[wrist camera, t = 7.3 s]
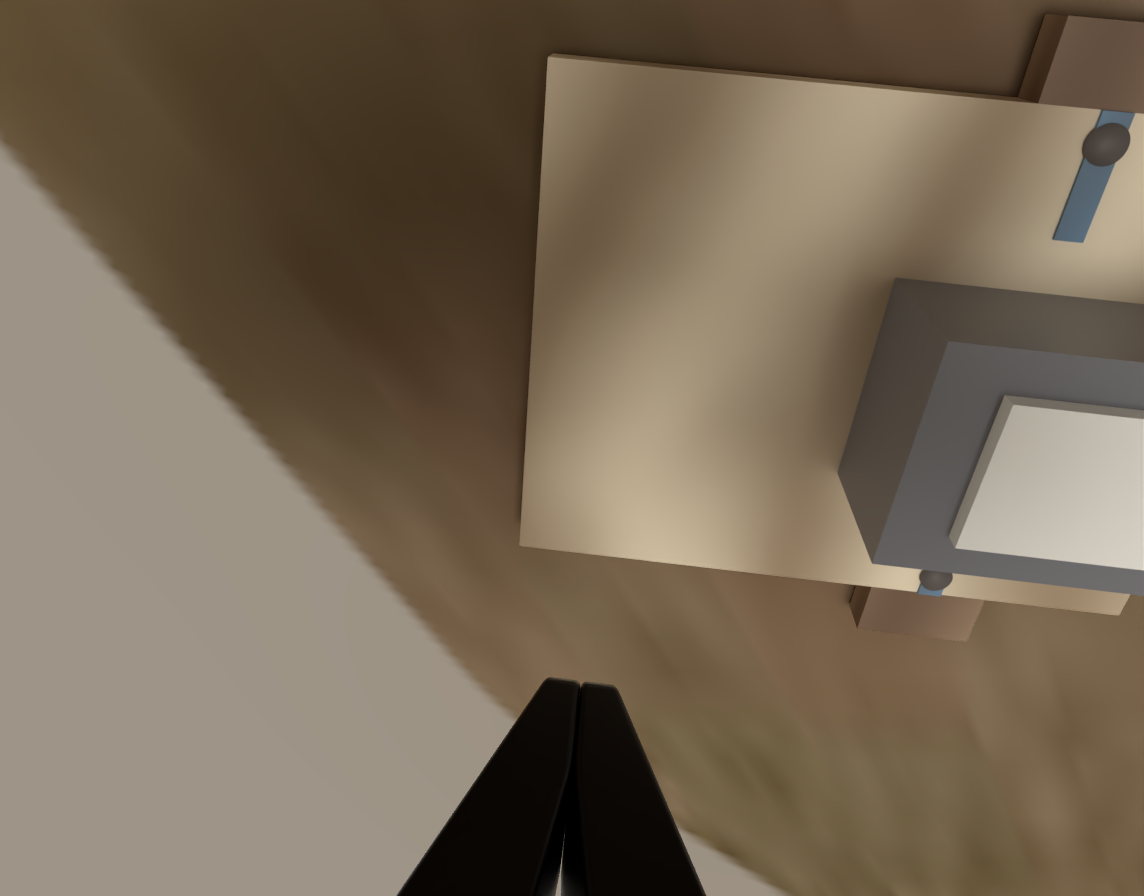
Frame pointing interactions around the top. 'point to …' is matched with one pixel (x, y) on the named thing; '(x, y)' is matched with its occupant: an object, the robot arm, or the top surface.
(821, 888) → the top surface
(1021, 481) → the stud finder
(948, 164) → the board
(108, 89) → the top surface
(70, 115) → the top surface
